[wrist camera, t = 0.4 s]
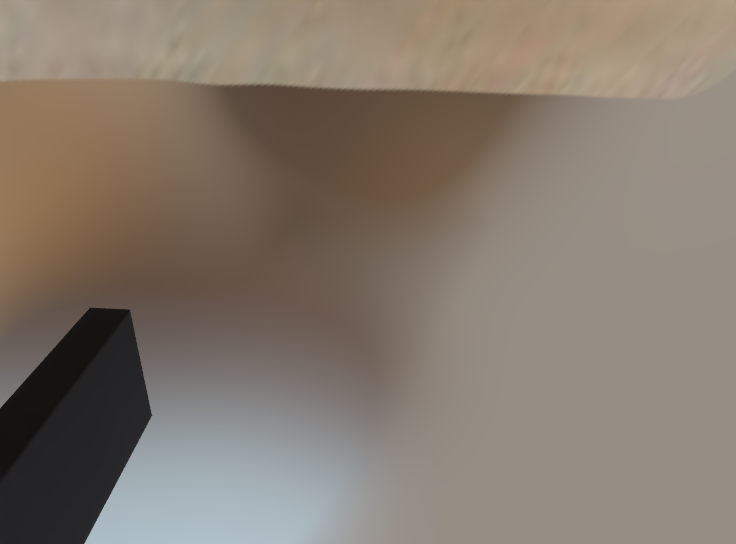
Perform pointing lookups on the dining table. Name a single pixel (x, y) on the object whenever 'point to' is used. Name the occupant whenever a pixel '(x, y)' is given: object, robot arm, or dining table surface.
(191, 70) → the dining table surface
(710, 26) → the dining table surface
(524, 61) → the dining table surface
